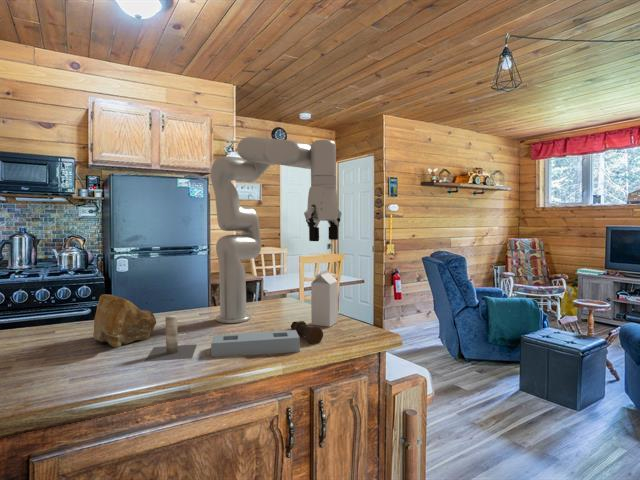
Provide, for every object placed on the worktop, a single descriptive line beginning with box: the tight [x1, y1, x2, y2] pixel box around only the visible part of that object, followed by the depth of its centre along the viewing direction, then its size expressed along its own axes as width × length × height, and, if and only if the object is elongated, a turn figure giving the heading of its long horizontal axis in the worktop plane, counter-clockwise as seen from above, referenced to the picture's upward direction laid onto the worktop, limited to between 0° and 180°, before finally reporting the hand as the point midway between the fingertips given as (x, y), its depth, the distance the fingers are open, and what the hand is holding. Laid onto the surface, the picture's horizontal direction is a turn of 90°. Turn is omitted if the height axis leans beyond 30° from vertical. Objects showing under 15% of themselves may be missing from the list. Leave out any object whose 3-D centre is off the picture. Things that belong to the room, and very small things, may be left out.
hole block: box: [210, 329, 301, 358], centre depth 114 cm, size 24×8×4 cm, turn 101°
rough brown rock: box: [92, 293, 157, 349], centre depth 124 cm, size 23×17×15 cm
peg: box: [164, 315, 179, 354], centre depth 111 cm, size 3×3×10 cm
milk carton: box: [310, 269, 339, 328], centre depth 142 cm, size 7×7×19 cm
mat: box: [144, 344, 198, 363], centre depth 112 cm, size 12×12×1 cm
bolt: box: [290, 320, 324, 345], centre depth 127 cm, size 6×5×15 cm
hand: (324, 240), depth 120 cm, fingers open, 9 cm apart
